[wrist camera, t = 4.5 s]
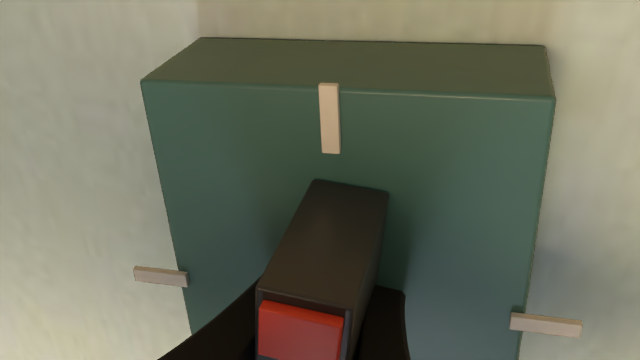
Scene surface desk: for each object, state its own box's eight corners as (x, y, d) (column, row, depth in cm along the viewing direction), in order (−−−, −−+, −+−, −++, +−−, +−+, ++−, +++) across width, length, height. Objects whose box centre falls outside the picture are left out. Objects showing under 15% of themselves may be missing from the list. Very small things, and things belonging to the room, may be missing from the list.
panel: (541, 389, 18) (548, 488, 15) (213, 339, 20) (169, 417, 17) (603, 41, 13) (630, 98, 10) (156, 31, 15) (83, 75, 12)
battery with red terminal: (360, 396, 15) (324, 544, 12) (298, 381, 15) (247, 521, 12) (390, 192, 12) (352, 319, 9) (312, 177, 12) (249, 296, 9)
